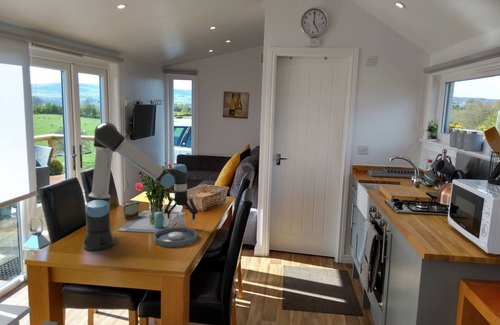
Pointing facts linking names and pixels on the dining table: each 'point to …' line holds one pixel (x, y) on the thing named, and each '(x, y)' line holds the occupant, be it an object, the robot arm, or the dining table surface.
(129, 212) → the food container
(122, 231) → the dining table surface
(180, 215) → the cream bead
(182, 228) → the groove tray
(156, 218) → the teal green block
